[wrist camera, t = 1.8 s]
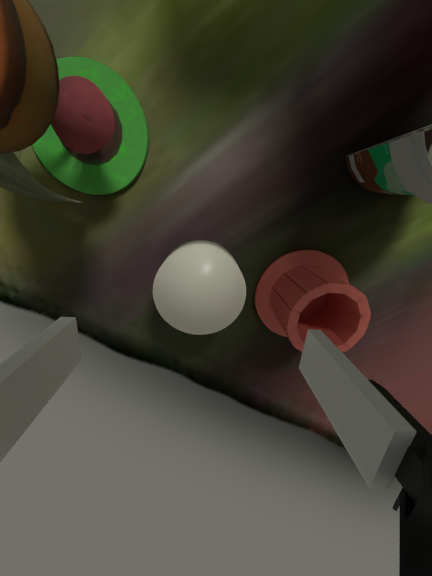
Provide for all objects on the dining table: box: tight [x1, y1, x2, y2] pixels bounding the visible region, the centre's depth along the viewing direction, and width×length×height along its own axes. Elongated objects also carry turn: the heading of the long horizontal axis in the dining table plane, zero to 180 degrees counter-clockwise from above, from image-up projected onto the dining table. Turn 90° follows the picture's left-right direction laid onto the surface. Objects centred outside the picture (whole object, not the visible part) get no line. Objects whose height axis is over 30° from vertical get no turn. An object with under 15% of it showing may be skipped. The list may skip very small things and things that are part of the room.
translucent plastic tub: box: [0, 0, 149, 203], centre depth 15 cm, size 12×13×15 cm
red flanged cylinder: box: [254, 249, 371, 352], centre depth 25 cm, size 11×11×7 cm
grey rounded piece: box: [153, 240, 246, 335], centre depth 23 cm, size 8×8×7 cm
